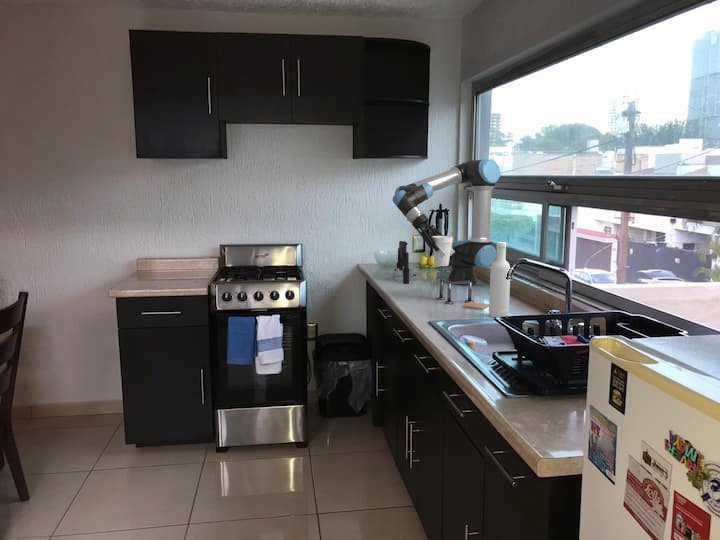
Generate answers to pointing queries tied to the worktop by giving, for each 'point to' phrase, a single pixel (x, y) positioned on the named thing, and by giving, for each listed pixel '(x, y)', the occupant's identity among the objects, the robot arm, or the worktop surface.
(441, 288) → the bent rail
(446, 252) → the foam cup
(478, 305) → the coaster
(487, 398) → the worktop surface
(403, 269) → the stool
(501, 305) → the bottle
